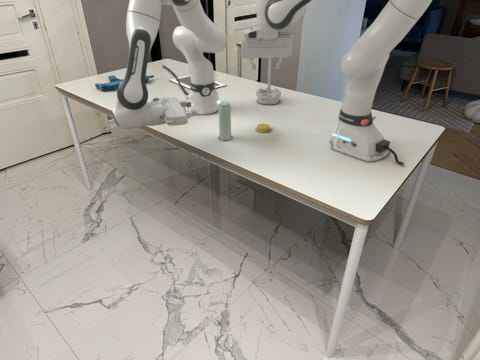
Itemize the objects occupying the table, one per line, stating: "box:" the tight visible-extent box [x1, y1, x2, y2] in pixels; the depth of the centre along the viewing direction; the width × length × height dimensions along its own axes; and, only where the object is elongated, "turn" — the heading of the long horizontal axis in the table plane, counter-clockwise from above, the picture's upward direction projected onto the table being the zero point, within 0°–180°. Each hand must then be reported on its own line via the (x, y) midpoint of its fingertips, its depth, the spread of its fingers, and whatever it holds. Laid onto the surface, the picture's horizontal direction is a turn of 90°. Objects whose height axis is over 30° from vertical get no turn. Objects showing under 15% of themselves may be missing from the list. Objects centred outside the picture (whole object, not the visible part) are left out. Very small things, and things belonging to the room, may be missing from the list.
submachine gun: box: [94, 74, 155, 91], centre depth 208 cm, size 34×4×25 cm
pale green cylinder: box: [218, 100, 232, 141], centre depth 140 cm, size 5×5×16 cm
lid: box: [256, 122, 271, 133], centre depth 150 cm, size 6×6×2 cm
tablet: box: [169, 74, 227, 90], centre depth 208 cm, size 32×20×1 cm, turn 41°
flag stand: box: [255, 58, 282, 105], centre depth 173 cm, size 13×13×30 cm
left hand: (193, 108), depth 133 cm, fingers open, 8 cm apart
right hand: (265, 68), depth 136 cm, fingers open, 8 cm apart
